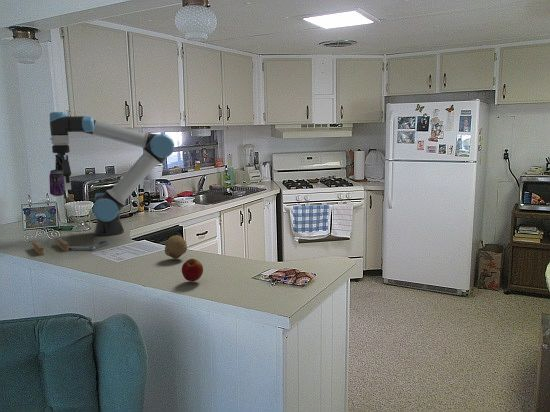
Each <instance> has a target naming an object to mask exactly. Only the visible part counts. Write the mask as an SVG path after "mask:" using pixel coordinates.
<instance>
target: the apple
mask: <svg viewBox="0 0 550 412" xmlns="http://www.w3.org/2000/svg"><path fill="white" fill-rule="evenodd" d="M203 273H204V267H203V264H202V262H201V261H199V259H196V258H189V259H188V260H186V261H185V262H184V263H183V264H182V266H181V274H182V276H183V278H184V279H185V280H186V281H189V282H196V281H198V280H200V278H201V277H202V275H203Z"/></svg>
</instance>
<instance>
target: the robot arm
mask: <svg viewBox="0 0 550 412" xmlns="http://www.w3.org/2000/svg"><path fill="white" fill-rule="evenodd" d="M49 126H50V130H49V131H50V138H49V139H50V141H51V144H52V146H51V150H52V154H55V156H54V157H55V165H54V166H55V169H54V170H63V173H64V174H63V176H64V186H65V190H66V191H68V190H69V191H70V190H72V183H71V176H72V170H71V166H70V162H69V155H68V154H69V153H70V152H71V151H70V146H69V144H70V138H69V133H85V134H89V135H92V136H97V137H101V138H104V139H108V140H113V141H116V142H120V143H123V144H127V145H130V146H135V147H138V148H141V149H142V152H143V153H142V154H141V155H140V157H139V158H138V159H137V160H136V161H135V162H134V164H133V165H131V167H130V168H129V169H128V170H127V171H126V173H124V175H123V176H121V178H120V179H119V180H118V181H117V183H115V185H114V186H113V187H112V188H110V189H106V190H105V192H98V193H97V192H96V193H95V195H94V200H95V202H94V204H93V206H92V212H93V214H94V216H95V218H96V224H95V228H94V231H93V232H94V233H93V234H94V236H95V237H115V236H119V235H122V234H124V233H125V229H124V227H123V224H122V221H121V217H120V215H121V214H120V212H121V211H122V209H124V207H125V206H126V201H127V199H128V198H129V197H130V196H131V194H132V193H134V191H136V189H137V188H138V186H139V185H140V184H141V183H142V182H143V181H144V180H145V179H146V178H147V176H148V175H149V174H150V173H151V172H152V171H153V169H155V167H156V166H159V165H162V164H163V163H164V161H166V159H167V158H169V157H170V156H171V155H172V154H173V152H175V151H174V149H175V142H174V140H173V139H172V137H171V136H169V135H168V134H166V133H159V134H157V133H152V132H146V133H144V132H141V131H137V130H133V129H129V128H125V127H121V126H118V125H115V124H110V123H107V122H103V121H99V120H95V119H94V117H93V116H91V115H89V116H88V115H83V116H82V115H79V116H77V115H76V116H74V115H73V116H69V115H67V112H66V111H65V112H64V111H51V112H49Z"/></svg>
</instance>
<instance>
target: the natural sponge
mask: <svg viewBox="0 0 550 412" xmlns="http://www.w3.org/2000/svg"><path fill="white" fill-rule="evenodd" d="M187 250H188V246H187V242H186V240H185V238H183V237H182V236H181V235H172V236H170V237H169V238H168V239H167V240H166V243H165V247H164V253H165V255H166V256H168V257H170V258H172V259H179V258H180V257H181V256H182V255H185V253H186V252H187Z"/></svg>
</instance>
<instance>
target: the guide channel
mask: <svg viewBox="0 0 550 412" xmlns="http://www.w3.org/2000/svg"><path fill="white" fill-rule="evenodd" d="M31 244H32V250H33V251H35V252H36V254H38V255H39V257H40V256H44V253H45V252H44V247H43V246H42V245H41V244H40V243H38V242H37V241H36V240H35V241H34V240H33V241H31ZM56 246H57V247H59V248H60V249H61V250H63V252H65V253H66V252H69V251H70V250H69V243H68V242H66V241H65V240H63V239H62V238H61V237H57V238H56Z"/></svg>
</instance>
